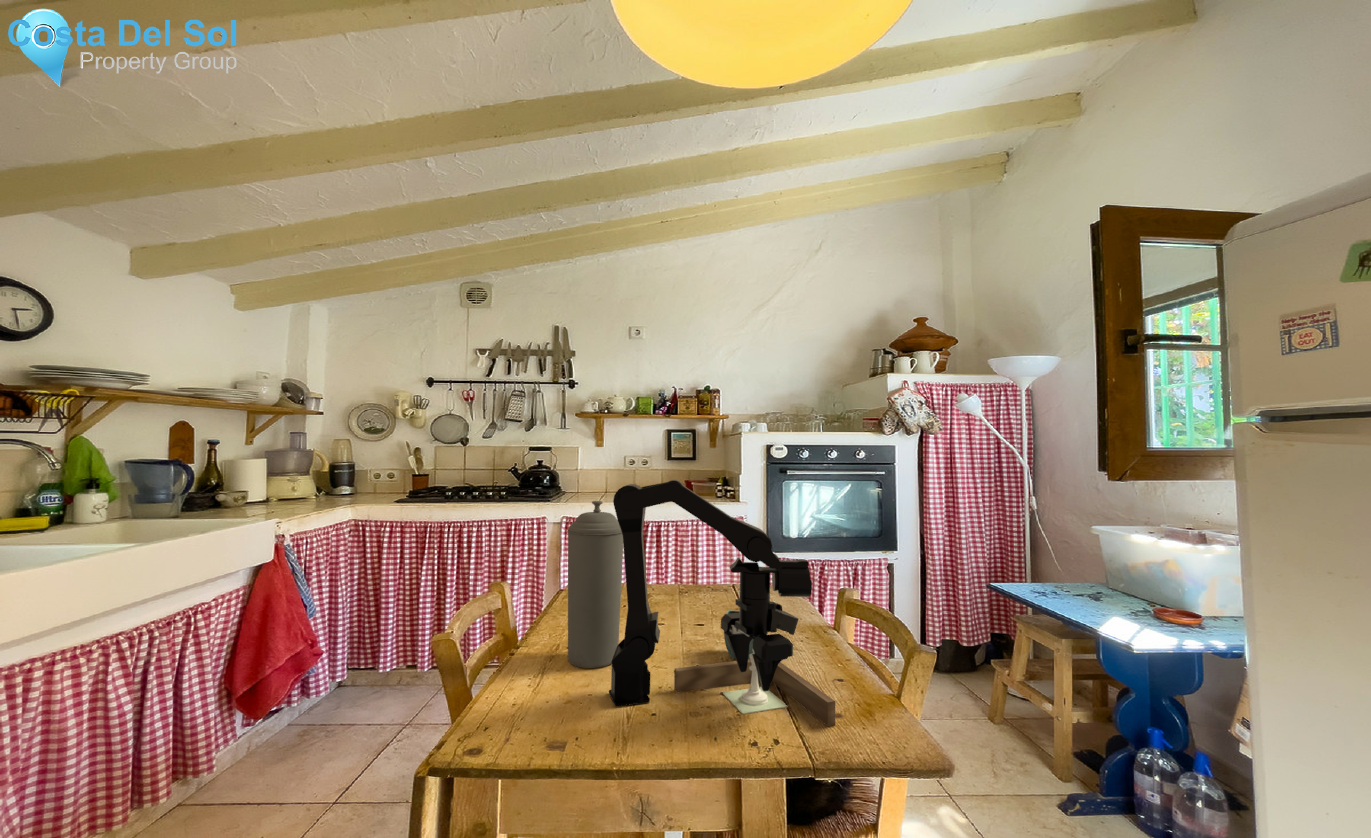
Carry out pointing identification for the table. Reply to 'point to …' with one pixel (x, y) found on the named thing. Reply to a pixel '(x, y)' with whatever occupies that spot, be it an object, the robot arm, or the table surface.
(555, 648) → the table surface
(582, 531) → the canister
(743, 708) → the pad
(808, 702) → the corner wall
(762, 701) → the chess piece
